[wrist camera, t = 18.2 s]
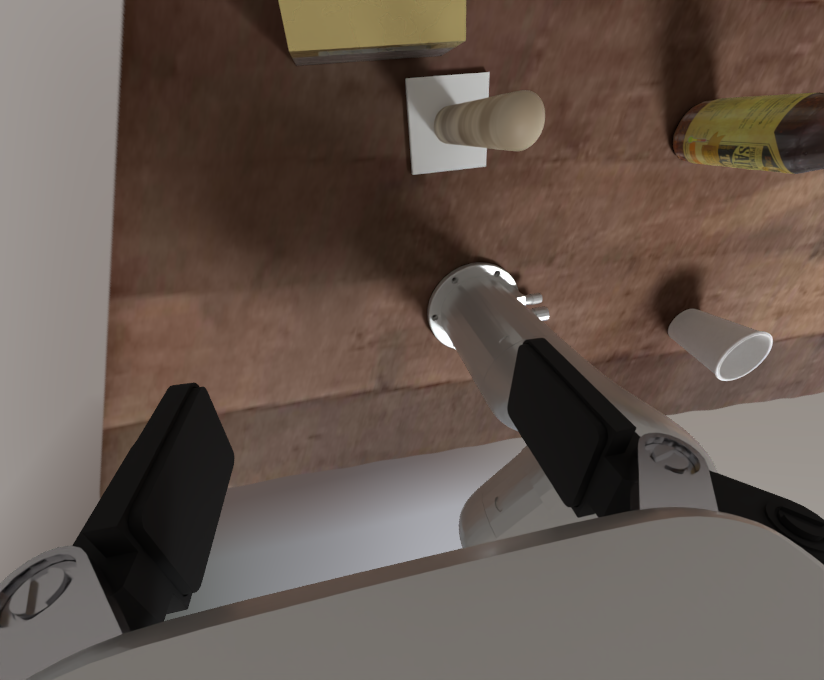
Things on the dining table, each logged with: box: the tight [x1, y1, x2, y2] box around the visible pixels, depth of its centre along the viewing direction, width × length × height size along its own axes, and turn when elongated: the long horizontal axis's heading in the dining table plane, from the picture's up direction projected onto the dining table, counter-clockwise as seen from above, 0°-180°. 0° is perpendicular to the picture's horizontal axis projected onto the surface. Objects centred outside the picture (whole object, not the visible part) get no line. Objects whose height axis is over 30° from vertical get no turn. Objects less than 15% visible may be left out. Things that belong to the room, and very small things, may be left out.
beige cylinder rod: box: [434, 90, 545, 151], centre depth 28 cm, size 3×3×15 cm
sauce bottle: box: [673, 93, 824, 174], centre depth 32 cm, size 7×6×20 cm
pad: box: [405, 72, 489, 175], centre depth 34 cm, size 8×8×1 cm
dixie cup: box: [668, 309, 773, 381], centre depth 52 cm, size 8×8×10 cm
